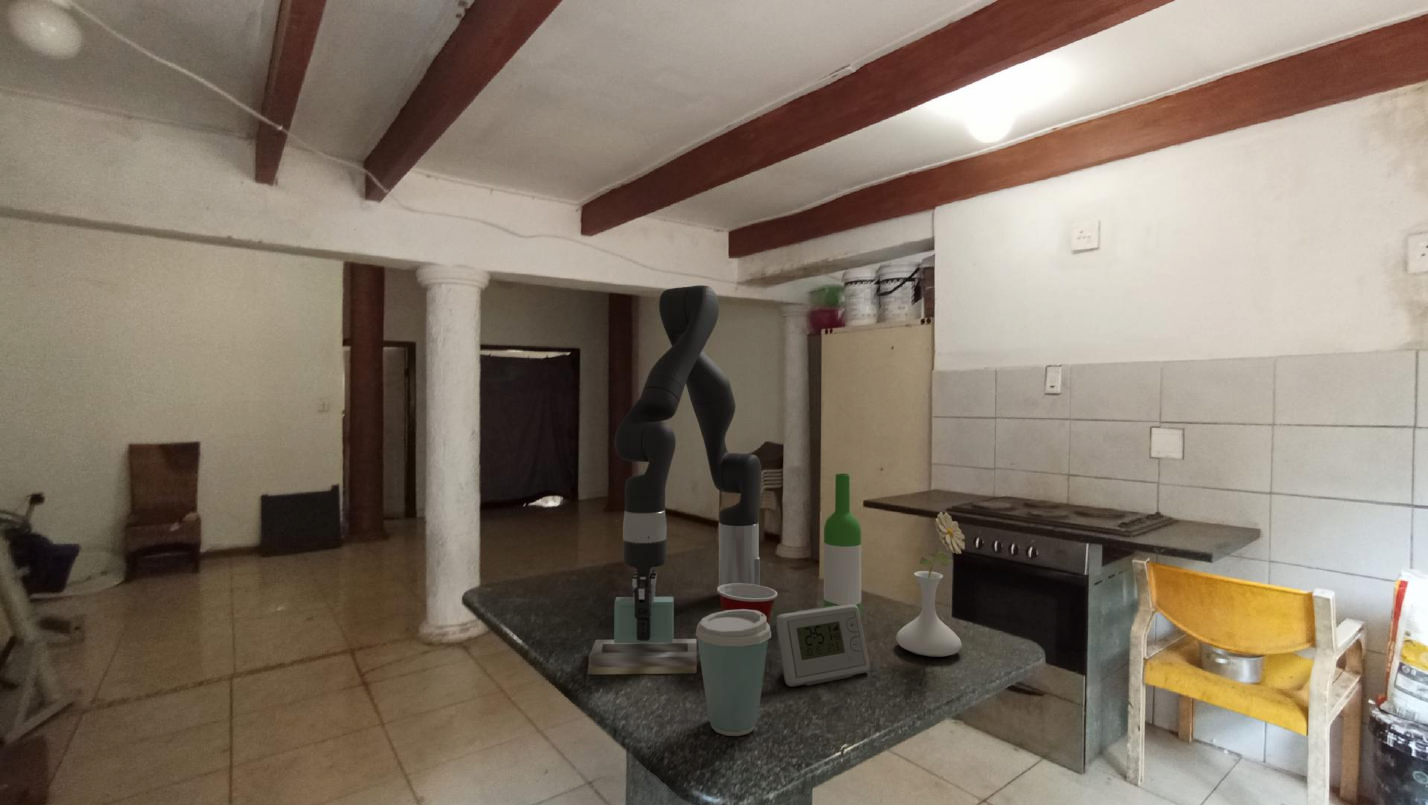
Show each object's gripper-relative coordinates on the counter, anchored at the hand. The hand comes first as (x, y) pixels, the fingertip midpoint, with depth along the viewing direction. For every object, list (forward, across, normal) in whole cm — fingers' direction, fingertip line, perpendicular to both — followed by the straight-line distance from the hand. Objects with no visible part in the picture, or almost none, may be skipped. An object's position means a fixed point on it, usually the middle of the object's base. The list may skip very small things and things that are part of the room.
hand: (644, 635), depth 110 cm
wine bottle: (+5, +23, -40) cm, 46 cm away
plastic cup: (+5, +2, -18) cm, 19 cm away
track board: (+5, 0, 0) cm, 5 cm away
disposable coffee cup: (+5, -22, -14) cm, 27 cm away
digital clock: (+5, -6, -30) cm, 31 cm away
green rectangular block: (+1, 0, 0) cm, 1 cm away
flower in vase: (+5, +4, -52) cm, 52 cm away
